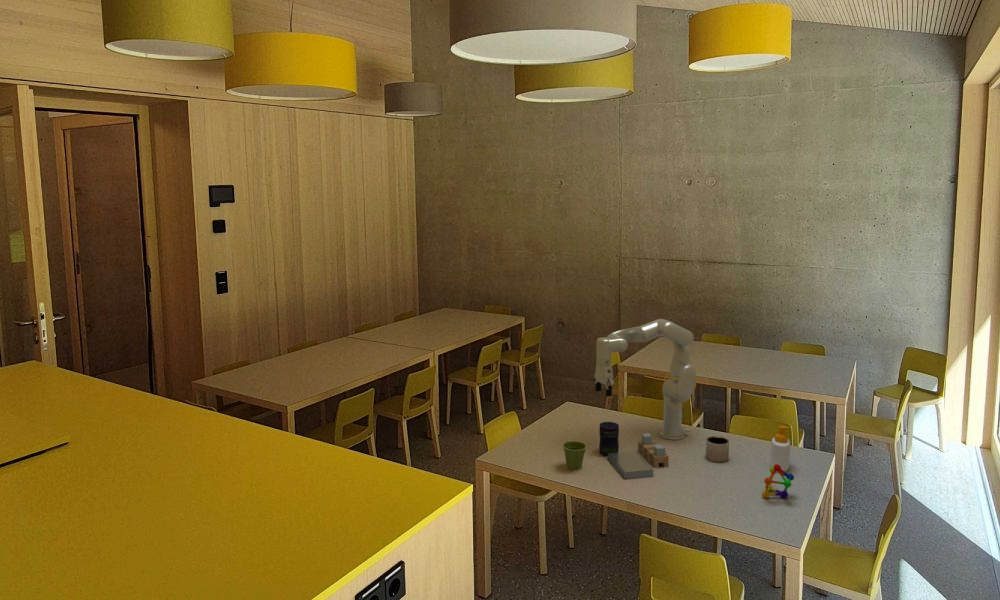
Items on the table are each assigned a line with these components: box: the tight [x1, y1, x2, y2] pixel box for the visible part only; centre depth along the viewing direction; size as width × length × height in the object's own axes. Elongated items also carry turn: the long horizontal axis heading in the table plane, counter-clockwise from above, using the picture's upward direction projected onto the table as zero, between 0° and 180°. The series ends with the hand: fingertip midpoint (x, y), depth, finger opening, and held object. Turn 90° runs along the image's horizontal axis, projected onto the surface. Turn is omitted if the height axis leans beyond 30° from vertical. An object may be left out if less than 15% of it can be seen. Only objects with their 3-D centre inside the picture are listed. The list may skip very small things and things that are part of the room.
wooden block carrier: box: [637, 440, 670, 469], centre depth 343 cm, size 22×7×6 cm, turn 10°
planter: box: [705, 435, 730, 463], centre depth 342 cm, size 11×11×10 cm
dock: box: [607, 450, 654, 480], centre depth 333 cm, size 14×24×3 cm, turn 10°
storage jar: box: [598, 421, 620, 458], centre depth 350 cm, size 10×10×15 cm
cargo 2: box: [654, 444, 666, 457], centre depth 335 cm, size 4×4×4 cm
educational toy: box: [761, 464, 795, 499], centre depth 301 cm, size 16×13×15 cm
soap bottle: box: [770, 425, 791, 472], centre depth 329 cm, size 13×8×20 cm, turn 160°
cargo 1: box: [640, 432, 653, 444], centre depth 350 cm, size 4×4×4 cm
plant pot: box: [561, 440, 588, 471], centre depth 334 cm, size 12×12×11 cm
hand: (603, 393), depth 356 cm, fingers open, 9 cm apart
